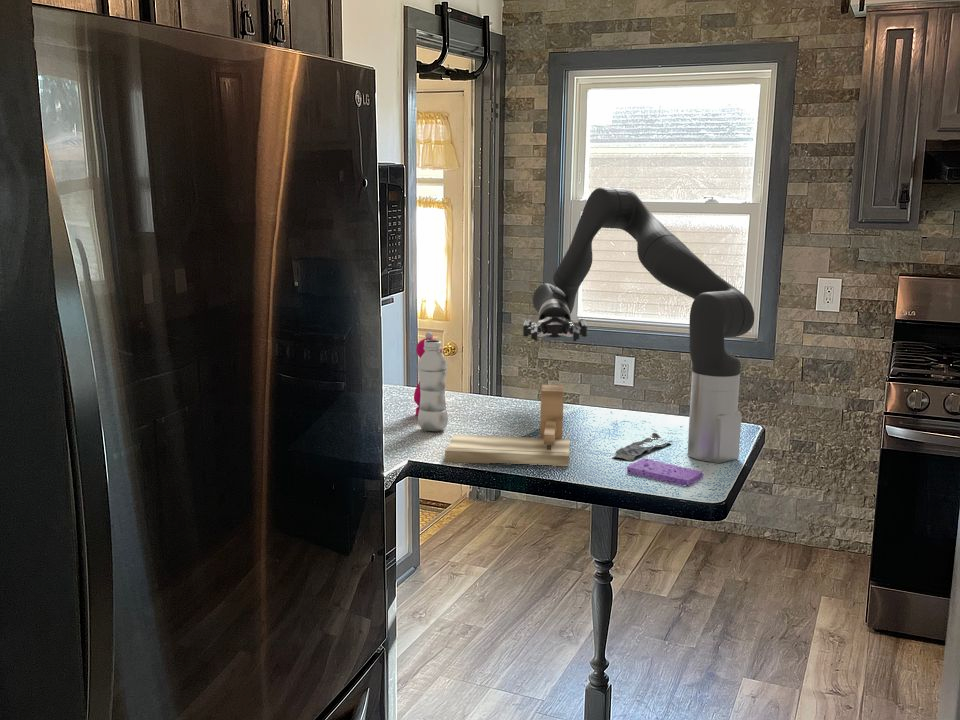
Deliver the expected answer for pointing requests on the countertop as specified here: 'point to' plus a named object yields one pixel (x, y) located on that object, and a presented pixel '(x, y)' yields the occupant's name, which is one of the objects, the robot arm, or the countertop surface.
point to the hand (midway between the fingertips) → (555, 336)
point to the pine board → (507, 450)
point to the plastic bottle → (432, 387)
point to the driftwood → (637, 448)
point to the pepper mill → (420, 352)
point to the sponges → (664, 471)
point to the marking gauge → (551, 413)
